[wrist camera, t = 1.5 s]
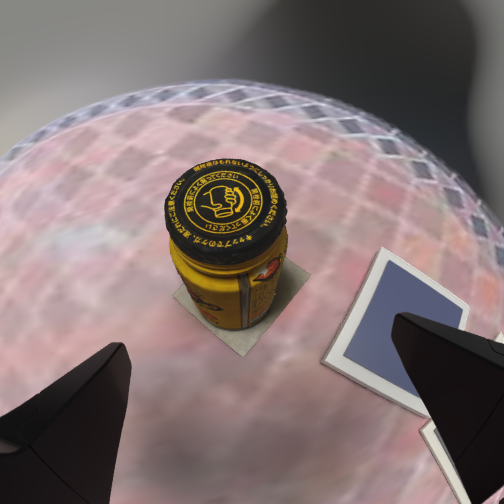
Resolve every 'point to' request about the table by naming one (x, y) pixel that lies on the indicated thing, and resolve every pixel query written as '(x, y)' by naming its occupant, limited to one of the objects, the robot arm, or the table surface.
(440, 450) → the marked board
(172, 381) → the table surface
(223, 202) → the condiment
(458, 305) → the ink pad
